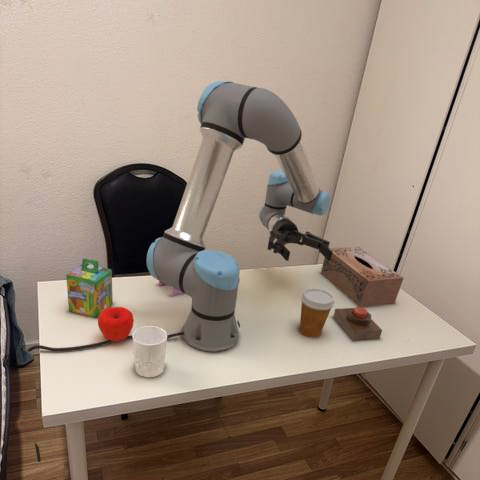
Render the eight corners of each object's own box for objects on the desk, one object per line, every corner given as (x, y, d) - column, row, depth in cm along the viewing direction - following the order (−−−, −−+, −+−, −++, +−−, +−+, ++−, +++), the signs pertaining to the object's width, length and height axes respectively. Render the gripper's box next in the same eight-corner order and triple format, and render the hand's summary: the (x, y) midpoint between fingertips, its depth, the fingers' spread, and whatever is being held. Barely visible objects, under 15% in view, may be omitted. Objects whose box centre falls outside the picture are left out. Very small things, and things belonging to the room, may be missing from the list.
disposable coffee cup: (324, 325, 133) (333, 290, 127) (327, 342, 125) (336, 306, 119) (294, 320, 133) (301, 285, 127) (294, 337, 125) (302, 301, 119)
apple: (112, 352, 110) (111, 326, 106) (91, 336, 114) (89, 311, 110) (140, 339, 116) (140, 314, 112) (120, 325, 120) (119, 300, 116)
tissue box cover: (394, 303, 151) (403, 277, 145) (360, 307, 145) (368, 280, 140) (352, 270, 170) (359, 246, 165) (320, 272, 165) (326, 248, 160)
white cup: (171, 363, 109) (172, 330, 103) (157, 382, 102) (158, 348, 97) (142, 355, 110) (142, 322, 105) (127, 374, 103) (126, 339, 98)
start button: (356, 319, 129) (358, 314, 128) (350, 312, 132) (351, 307, 131) (368, 318, 130) (370, 313, 129) (361, 311, 134) (363, 306, 133)
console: (352, 341, 127) (357, 326, 125) (332, 317, 138) (336, 303, 135) (379, 339, 130) (384, 325, 127) (357, 315, 140) (361, 302, 138)
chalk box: (68, 311, 123) (63, 264, 115) (85, 297, 130) (81, 251, 123) (98, 319, 121) (95, 271, 114) (114, 303, 129) (112, 258, 121)
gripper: (314, 240, 149) (344, 267, 132) (245, 239, 142) (267, 268, 125) (319, 218, 145) (350, 244, 128) (248, 217, 138) (271, 244, 121)
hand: (309, 256), depth 126 cm, fingers open, 13 cm apart
